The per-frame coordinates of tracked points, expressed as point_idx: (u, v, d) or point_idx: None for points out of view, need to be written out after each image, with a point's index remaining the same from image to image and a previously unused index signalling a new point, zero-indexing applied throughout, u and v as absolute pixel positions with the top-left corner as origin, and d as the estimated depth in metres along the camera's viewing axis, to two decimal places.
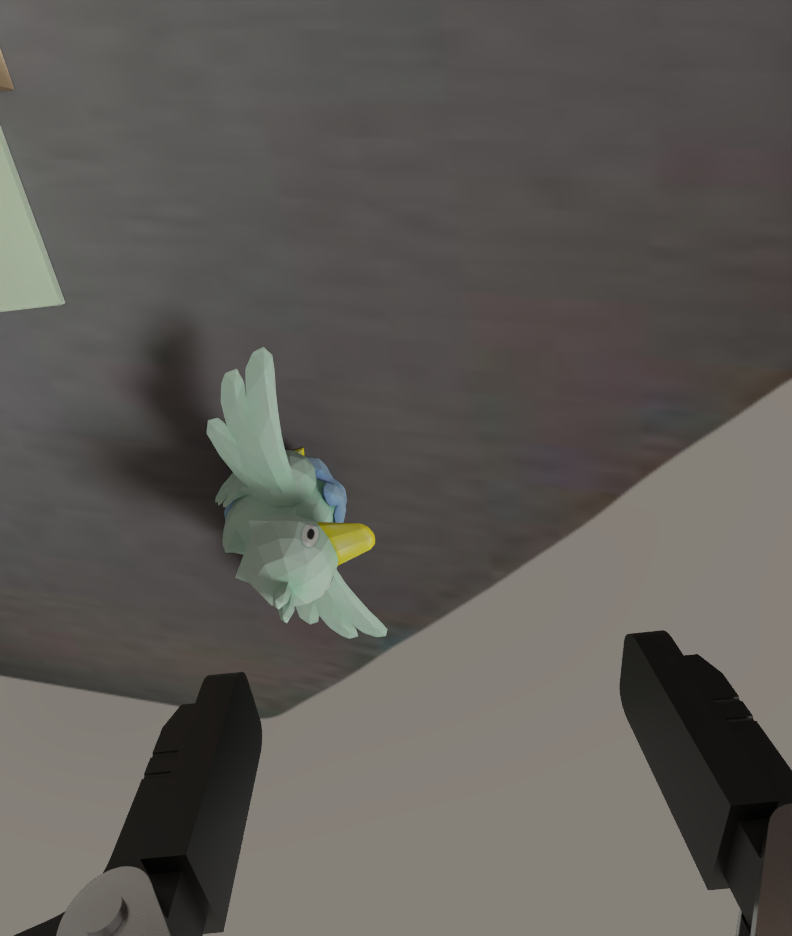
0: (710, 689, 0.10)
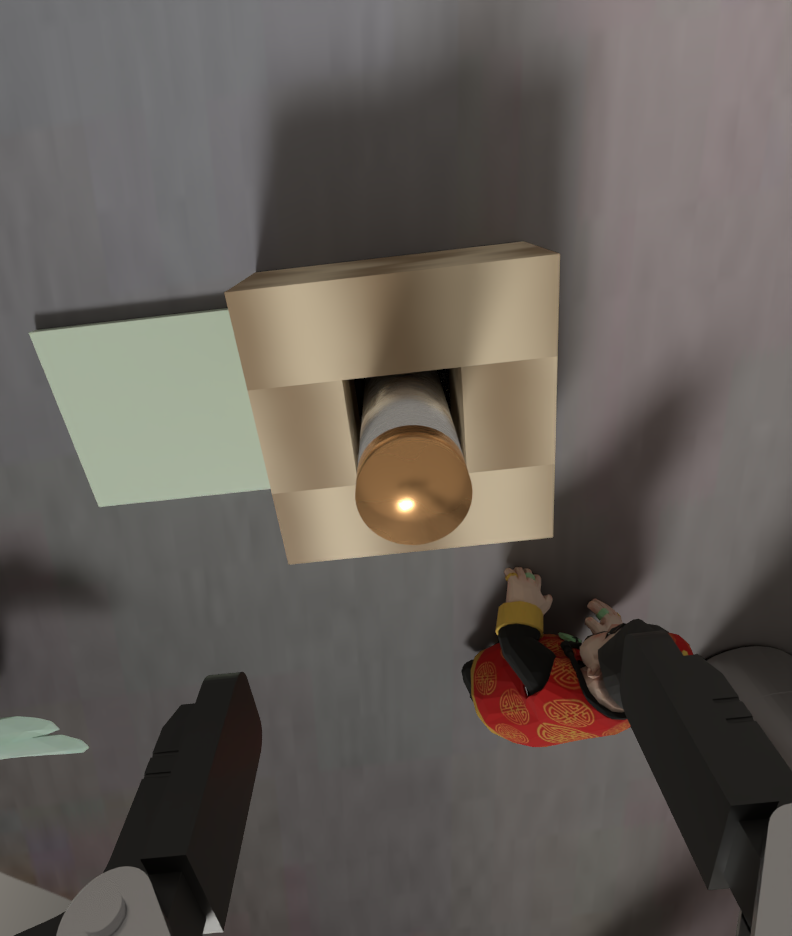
0: (710, 689, 0.10)
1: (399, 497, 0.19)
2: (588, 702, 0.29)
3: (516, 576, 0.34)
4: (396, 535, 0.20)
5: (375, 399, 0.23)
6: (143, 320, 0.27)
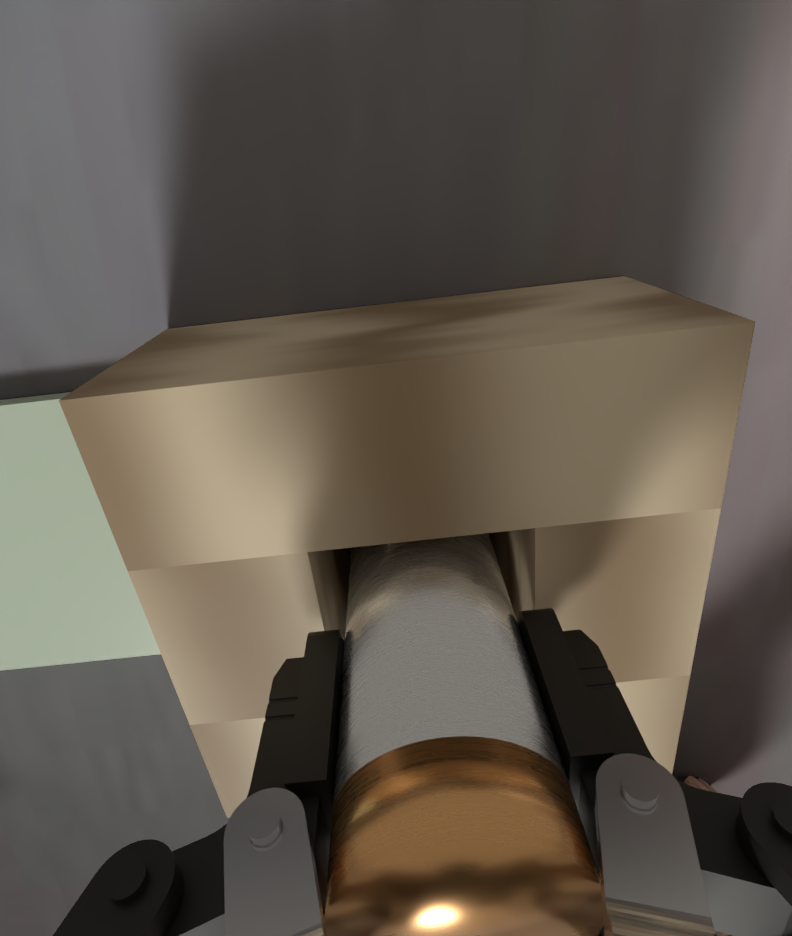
0: (584, 660, 0.11)
1: (430, 928, 0.08)
2: None
3: None
4: None
5: (371, 588, 0.12)
6: None
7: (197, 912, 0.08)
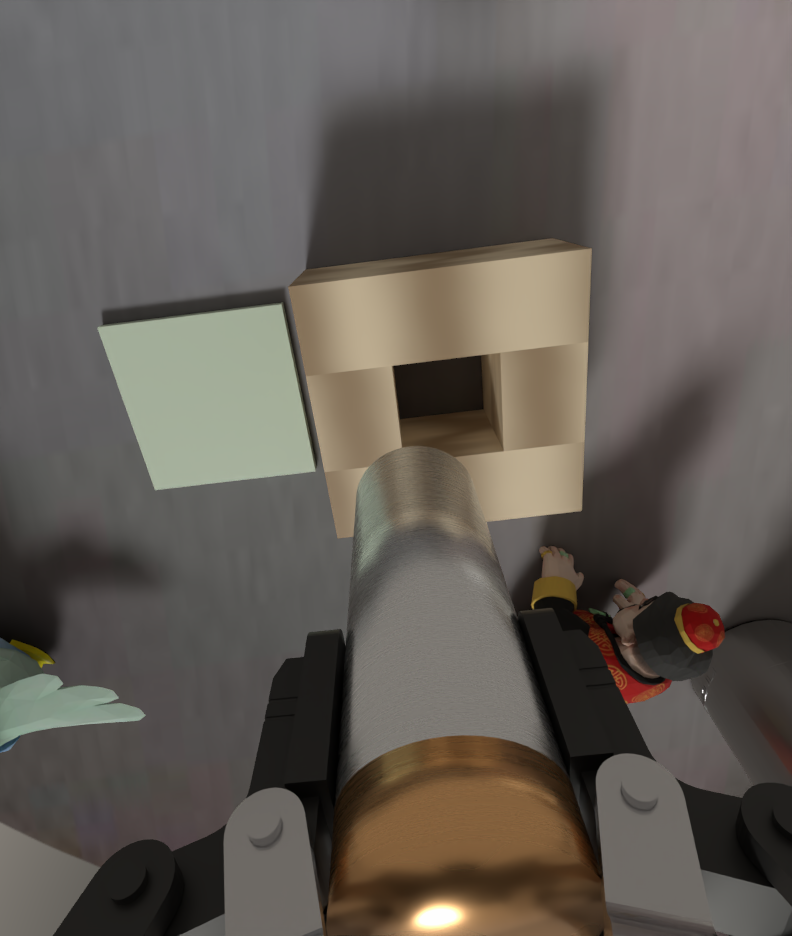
0: (584, 660, 0.11)
1: (433, 927, 0.08)
2: (622, 668, 0.31)
3: (551, 554, 0.36)
4: None
5: (373, 587, 0.12)
6: (202, 314, 0.29)
7: (197, 912, 0.08)
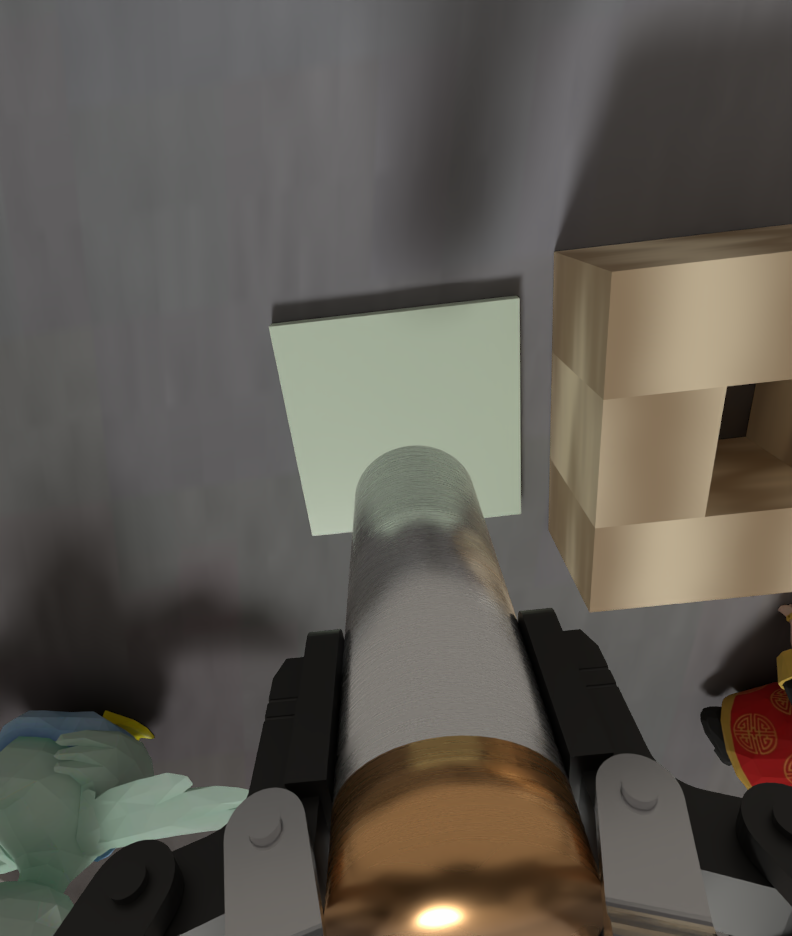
0: (583, 660, 0.11)
1: (430, 928, 0.08)
2: None
3: None
4: None
5: (371, 587, 0.12)
6: (412, 311, 0.22)
7: (197, 912, 0.08)
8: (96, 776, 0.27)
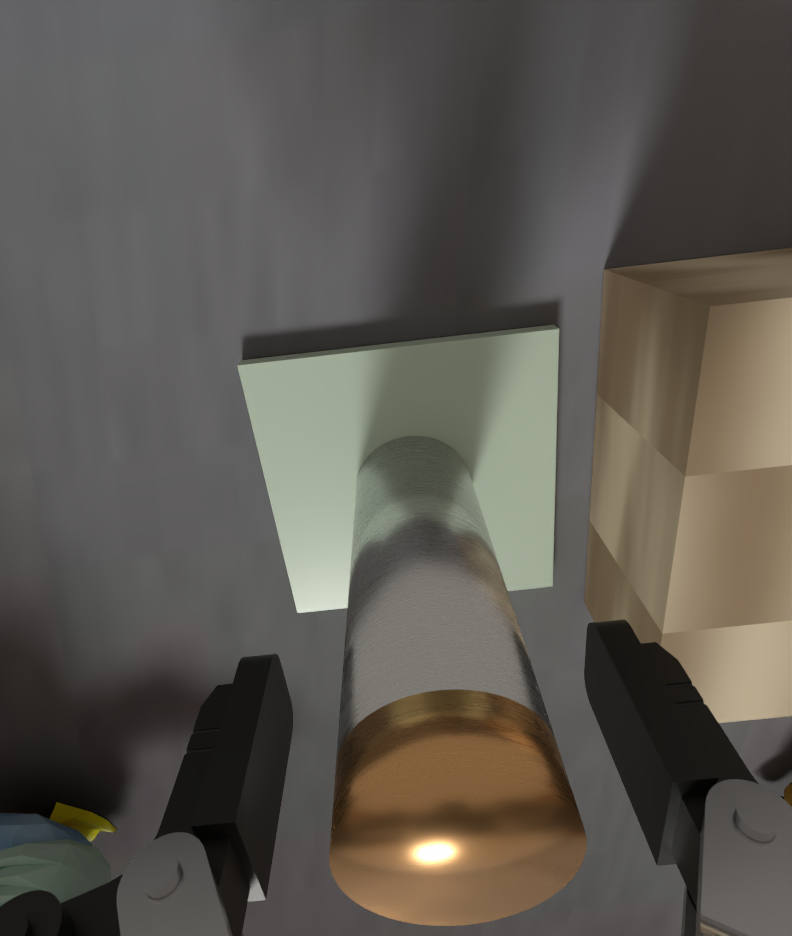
0: (665, 675, 0.10)
1: (426, 861, 0.09)
2: None
3: None
4: (418, 914, 0.09)
5: (372, 564, 0.13)
6: (421, 345, 0.17)
7: None
8: None
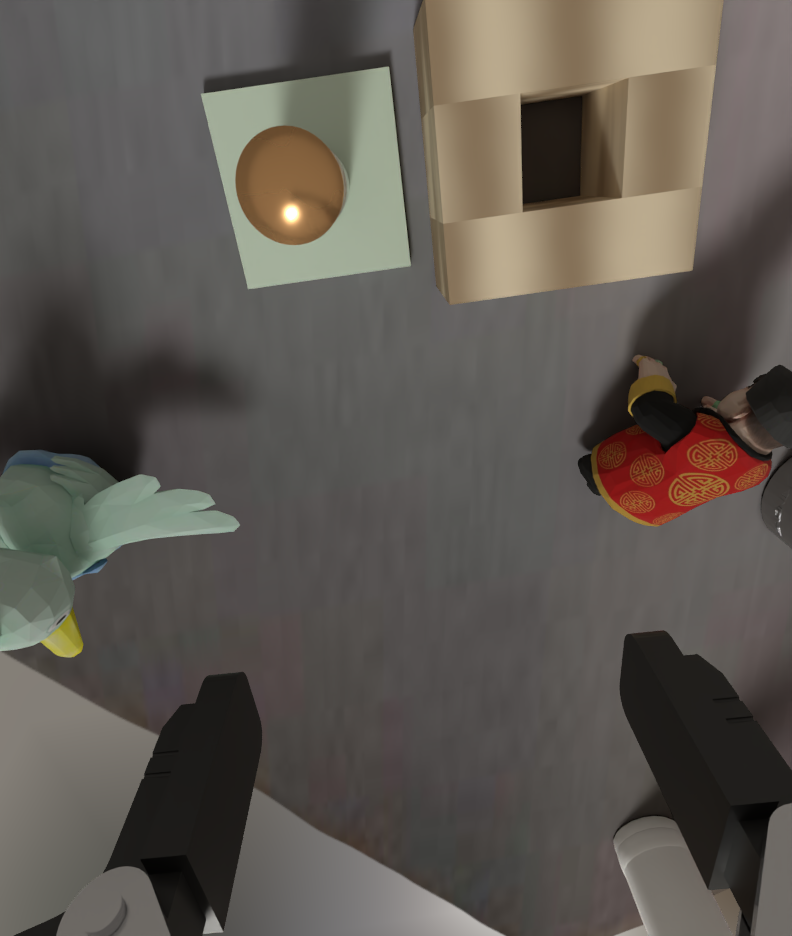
0: (710, 689, 0.10)
1: (276, 189, 0.21)
2: (733, 441, 0.31)
3: (647, 359, 0.36)
4: (278, 234, 0.21)
5: None
6: (308, 79, 0.29)
7: None
8: (84, 490, 0.35)
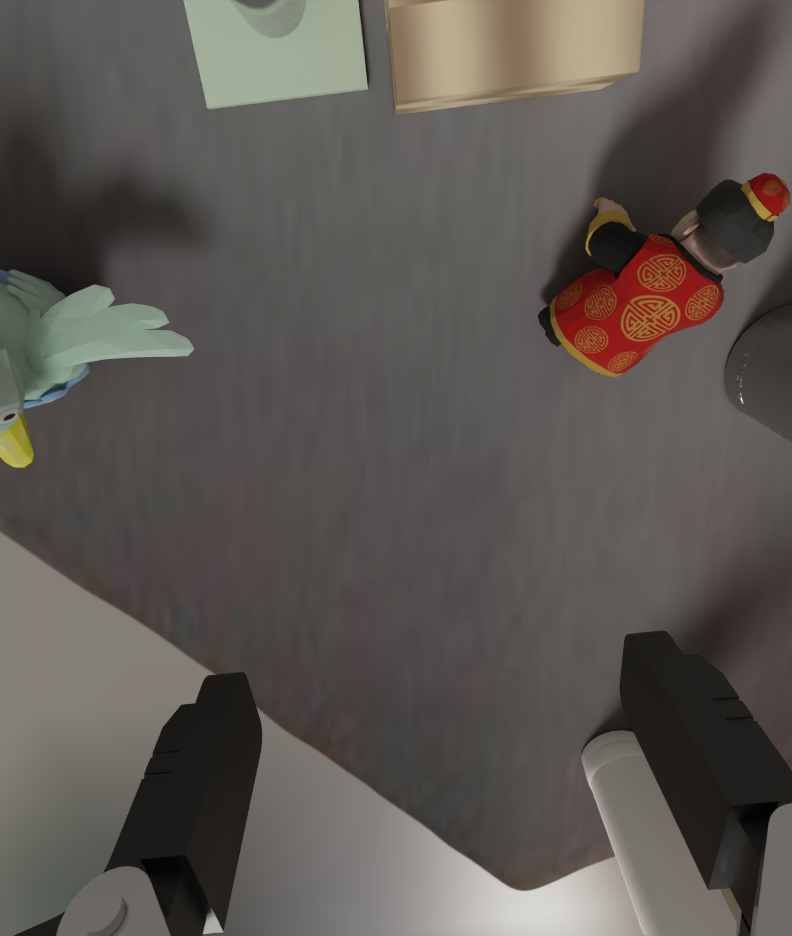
0: (710, 689, 0.10)
1: None
2: (682, 256, 0.31)
3: (607, 200, 0.37)
4: None
5: None
6: None
7: None
8: (41, 306, 0.35)
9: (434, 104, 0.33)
